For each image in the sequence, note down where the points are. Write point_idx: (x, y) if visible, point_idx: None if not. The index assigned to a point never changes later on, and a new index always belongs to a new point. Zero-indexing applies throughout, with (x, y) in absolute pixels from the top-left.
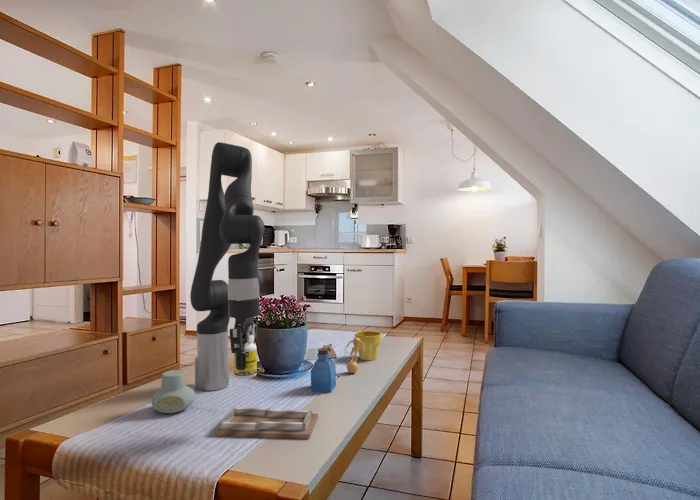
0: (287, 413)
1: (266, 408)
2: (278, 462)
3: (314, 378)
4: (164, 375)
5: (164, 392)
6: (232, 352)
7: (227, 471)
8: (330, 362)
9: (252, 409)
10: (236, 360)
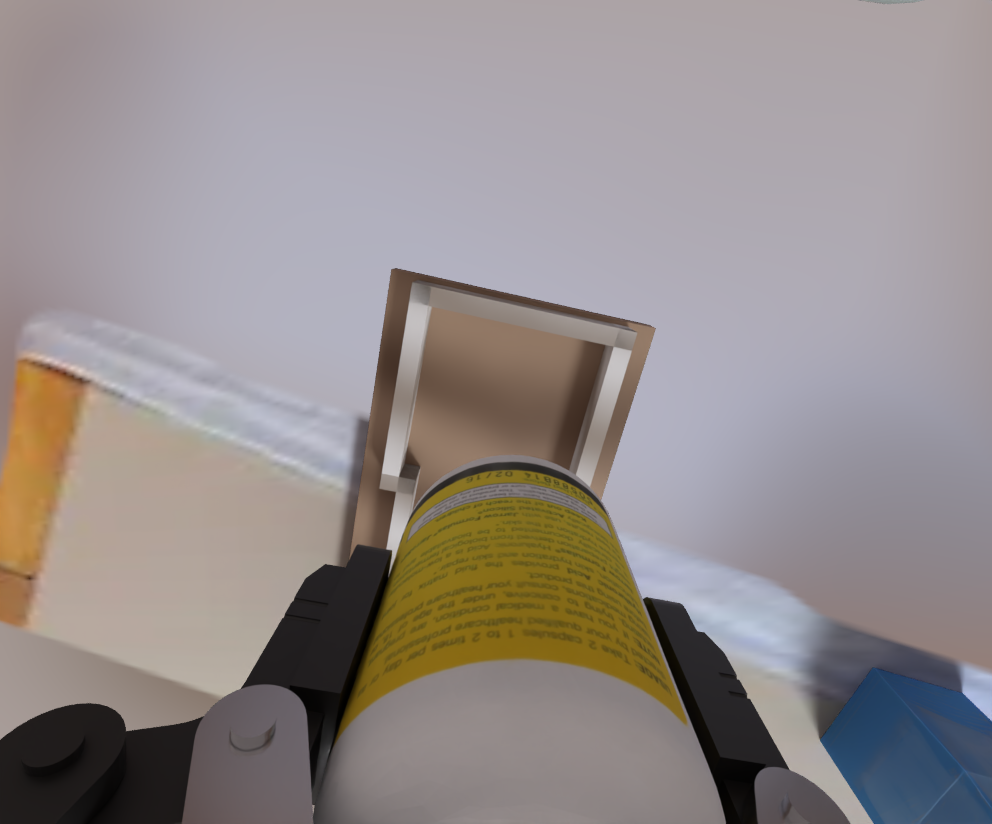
0: None
1: None
2: (154, 551)
3: (914, 742)
4: None
5: None
6: (29, 733)
7: (70, 379)
8: None
9: (585, 442)
10: (326, 614)
